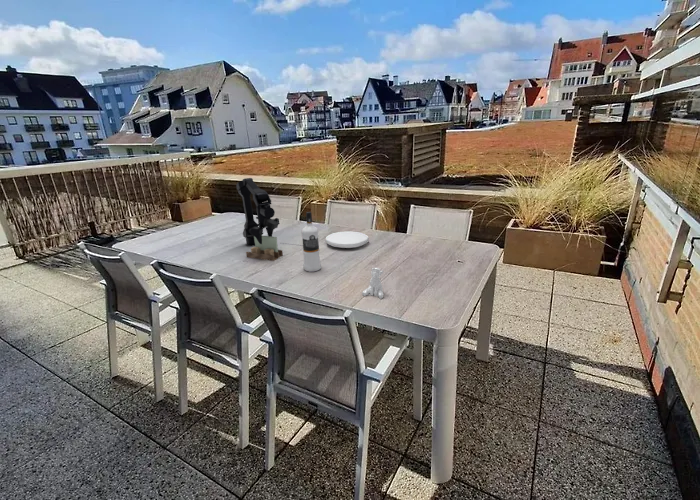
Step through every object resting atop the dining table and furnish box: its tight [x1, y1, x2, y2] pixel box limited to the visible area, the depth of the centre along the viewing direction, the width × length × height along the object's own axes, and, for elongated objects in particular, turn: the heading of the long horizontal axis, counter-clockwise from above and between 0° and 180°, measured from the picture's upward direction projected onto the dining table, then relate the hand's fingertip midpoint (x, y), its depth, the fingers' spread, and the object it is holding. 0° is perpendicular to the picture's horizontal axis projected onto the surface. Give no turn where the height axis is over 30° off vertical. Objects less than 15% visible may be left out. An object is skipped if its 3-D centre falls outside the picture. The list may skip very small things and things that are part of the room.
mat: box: [280, 242, 303, 247], centre depth 211 cm, size 18×12×1 cm, turn 68°
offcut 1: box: [250, 246, 261, 253], centre depth 196 cm, size 4×3×5 cm
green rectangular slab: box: [254, 235, 279, 252], centre depth 197 cm, size 14×2×11 cm, turn 68°
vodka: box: [301, 211, 322, 273], centre depth 175 cm, size 9×9×30 cm
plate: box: [325, 230, 370, 249], centre depth 216 cm, size 28×6×27 cm
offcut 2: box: [264, 248, 274, 255], centre depth 192 cm, size 4×3×5 cm
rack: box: [245, 249, 284, 262], centre depth 196 cm, size 18×9×4 cm, turn 68°
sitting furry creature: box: [361, 267, 384, 300], centre depth 150 cm, size 10×9×12 cm
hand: (265, 241), depth 196 cm, fingers open, 9 cm apart
